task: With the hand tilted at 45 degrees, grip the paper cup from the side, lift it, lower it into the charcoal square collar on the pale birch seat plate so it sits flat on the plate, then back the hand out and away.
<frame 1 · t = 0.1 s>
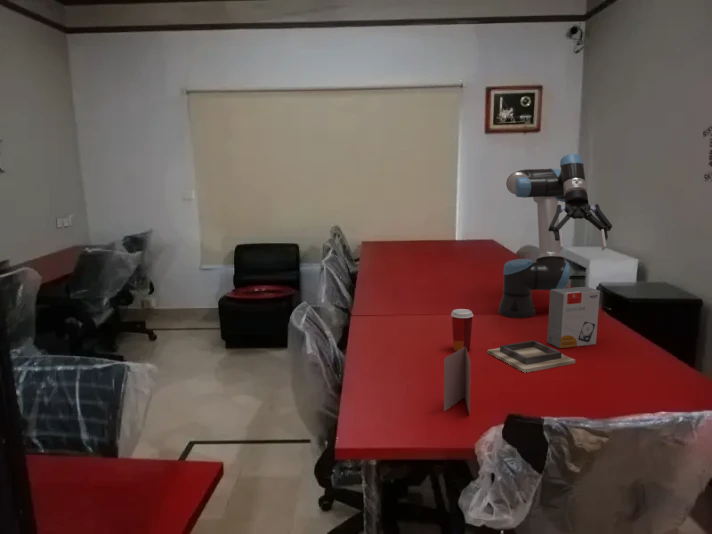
hand: (582, 248, 185), 36 cm above the table, tool tilted 35°, fingers open, 13 cm apart
hard drive box: (571, 344, 200), on the table
seat plate: (529, 358, 186), on the table
paper cup: (461, 350, 196), on the table
greeting card: (463, 407, 151), on the table
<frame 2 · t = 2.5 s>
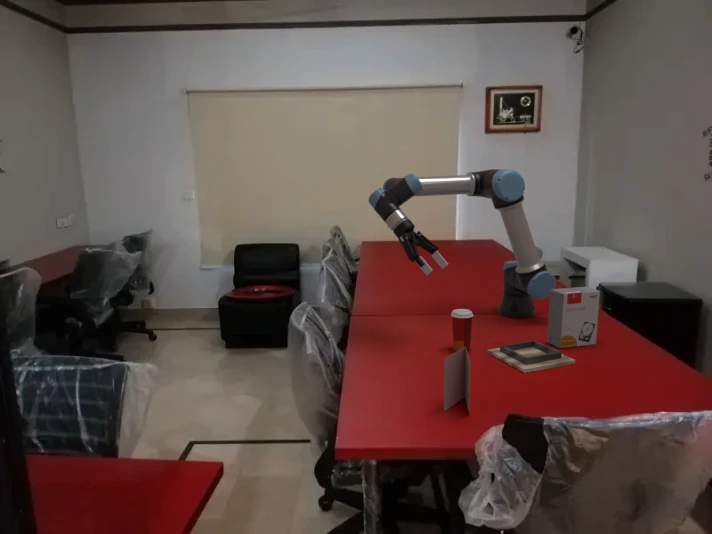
hand: (438, 269, 196), 28 cm above the table, tool tilted 45°, fingers open, 13 cm apart
nothing on the table moved.
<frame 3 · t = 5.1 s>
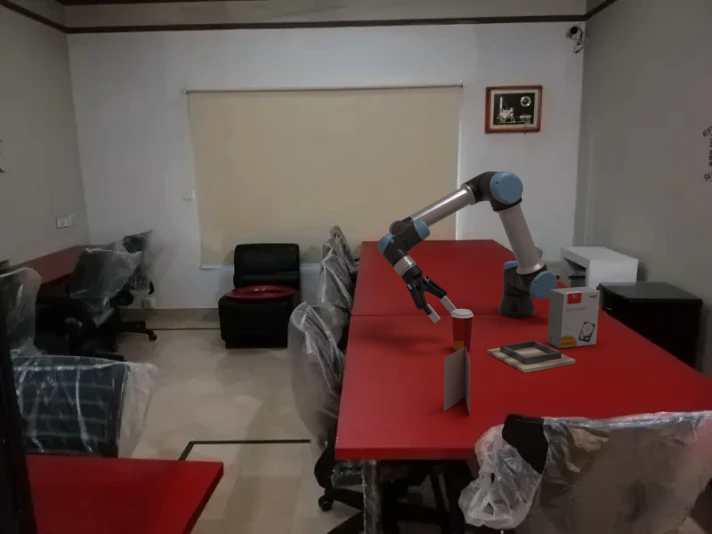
hand: (446, 316, 196), 12 cm above the table, tool tilted 45°, fingers open, 13 cm apart
nothing on the table moved.
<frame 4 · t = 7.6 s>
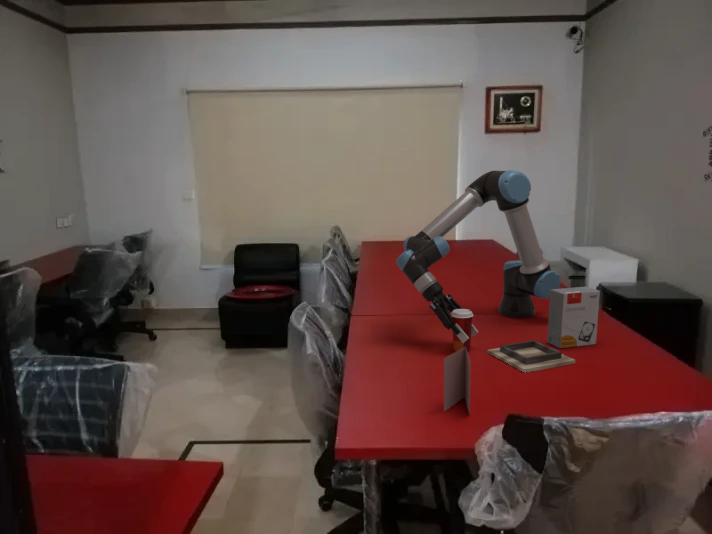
hand: (470, 337, 193), 5 cm above the table, tool tilted 45°, fingers closed on paper cup, 8 cm apart
paper cup: (461, 350, 196), on the table, touching gripper
everything else where it was.
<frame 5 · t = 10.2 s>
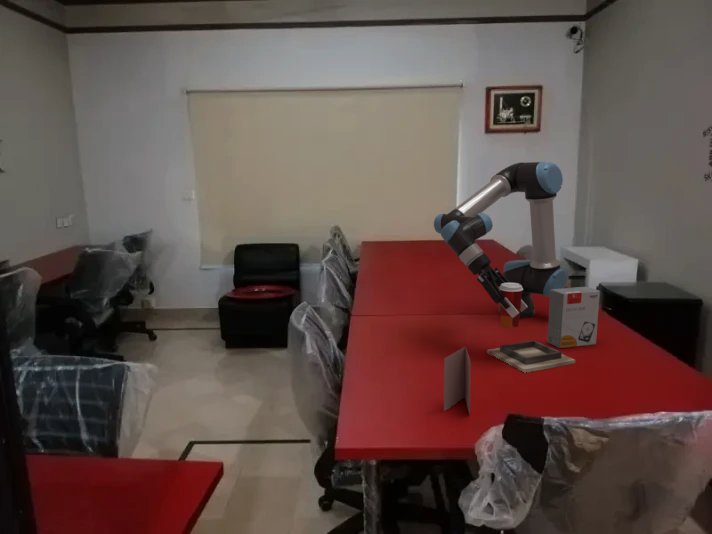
hand: (520, 312, 183), 16 cm above the table, tool tilted 45°, fingers closed on paper cup, 8 cm apart
paper cup: (509, 326, 186), point 11 cm above the table, touching gripper
everything else where it was.
when the fingers open (8 cm above the table, at t = 13.1 s): paper cup drops 2 cm, resting on seat plate.
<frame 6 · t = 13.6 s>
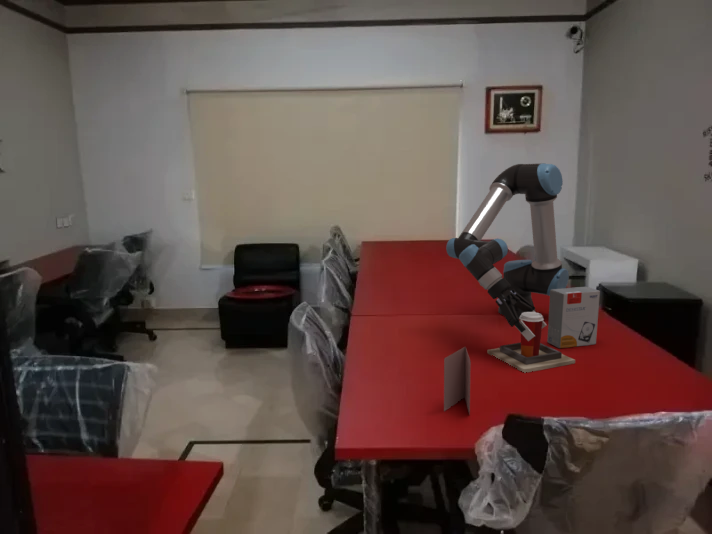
hand: (537, 333, 183), 9 cm above the table, tool tilted 45°, fingers open, 13 cm apart
paper cup: (529, 355, 186), point 1 cm above the table, touching seat plate
everything else where it was.
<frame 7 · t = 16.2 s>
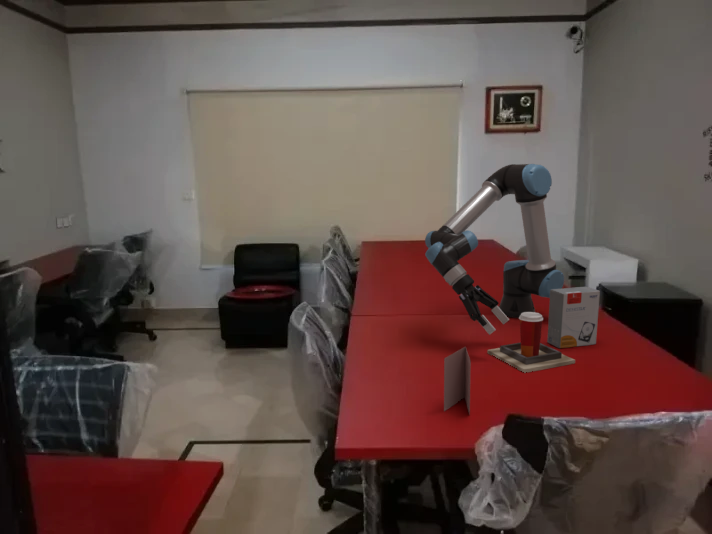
hand: (499, 327, 190), 9 cm above the table, tool tilted 45°, fingers open, 13 cm apart
nothing on the table moved.
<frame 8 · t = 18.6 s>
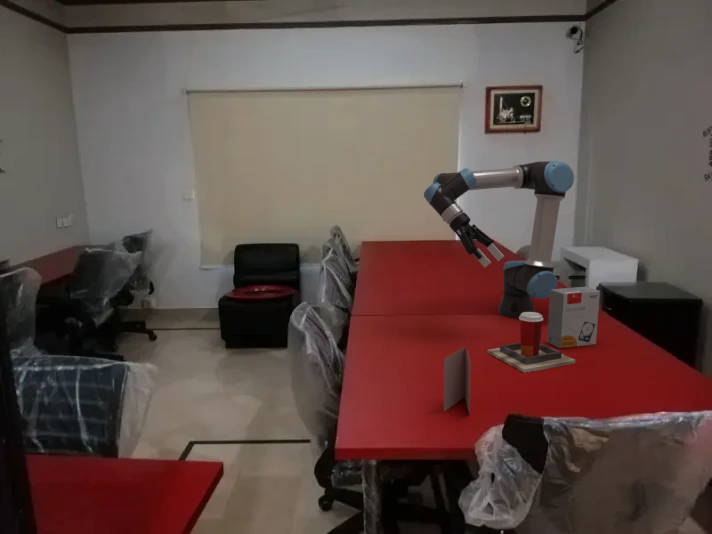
hand: (494, 261, 199), 30 cm above the table, tool tilted 45°, fingers open, 13 cm apart
nothing on the table moved.
at the end: paper cup 0.2 cm off-centre on the seat plate, point 1.0 cm above the seat plate's base; paper cup tilted 0°; the gripper is holding nothing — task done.
